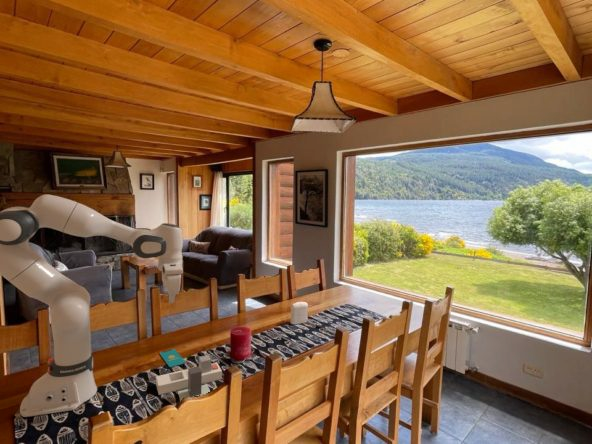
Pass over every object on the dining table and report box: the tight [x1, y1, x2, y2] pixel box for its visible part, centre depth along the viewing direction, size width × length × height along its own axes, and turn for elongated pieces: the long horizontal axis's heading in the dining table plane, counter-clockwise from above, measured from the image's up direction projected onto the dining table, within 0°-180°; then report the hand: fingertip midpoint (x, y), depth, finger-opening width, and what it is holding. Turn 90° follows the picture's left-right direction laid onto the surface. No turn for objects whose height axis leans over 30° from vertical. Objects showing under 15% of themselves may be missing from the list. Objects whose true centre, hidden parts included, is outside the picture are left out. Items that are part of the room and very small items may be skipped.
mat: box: [177, 383, 211, 402], centre depth 127 cm, size 11×7×1 cm, turn 120°
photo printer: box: [289, 301, 309, 325], centre depth 196 cm, size 10×4×12 cm, turn 116°
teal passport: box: [159, 348, 187, 369], centre depth 151 cm, size 7×1×15 cm
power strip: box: [155, 354, 223, 396], centre depth 134 cm, size 24×7×8 cm, turn 120°
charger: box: [187, 365, 202, 397], centre depth 126 cm, size 4×4×9 cm
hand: (169, 298), depth 134 cm, fingers open, 8 cm apart
